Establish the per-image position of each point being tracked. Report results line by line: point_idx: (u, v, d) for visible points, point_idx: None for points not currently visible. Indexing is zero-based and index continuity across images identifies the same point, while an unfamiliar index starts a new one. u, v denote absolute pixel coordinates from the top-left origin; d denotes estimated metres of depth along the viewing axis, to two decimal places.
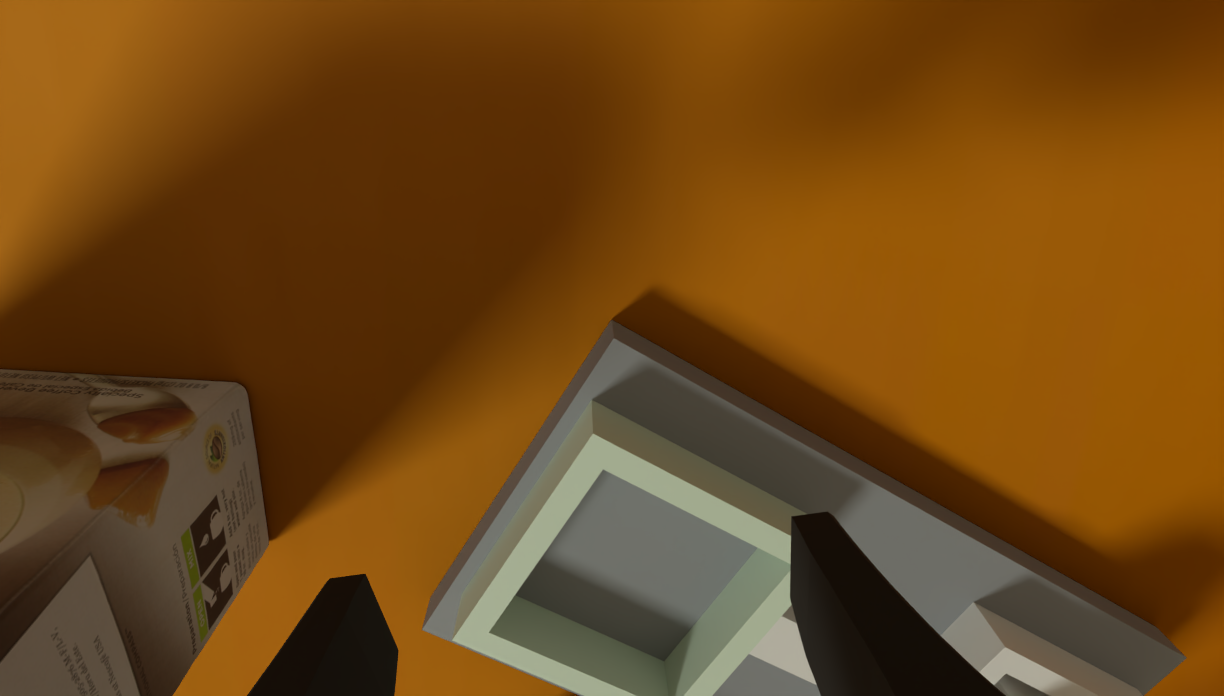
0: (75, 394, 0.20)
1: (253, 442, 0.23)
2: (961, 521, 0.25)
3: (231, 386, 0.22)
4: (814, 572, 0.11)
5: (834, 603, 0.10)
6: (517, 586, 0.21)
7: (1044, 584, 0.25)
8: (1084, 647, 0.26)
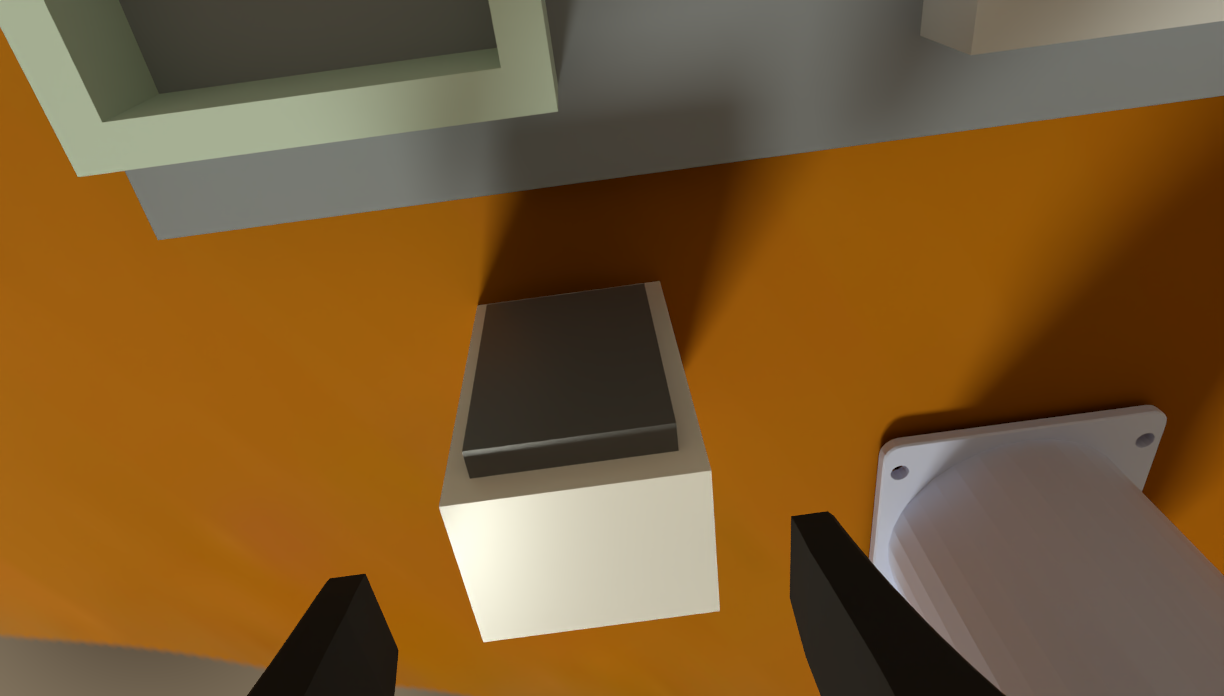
0: None
1: None
2: None
3: None
4: (814, 572, 0.11)
5: (834, 603, 0.10)
6: None
7: None
8: None
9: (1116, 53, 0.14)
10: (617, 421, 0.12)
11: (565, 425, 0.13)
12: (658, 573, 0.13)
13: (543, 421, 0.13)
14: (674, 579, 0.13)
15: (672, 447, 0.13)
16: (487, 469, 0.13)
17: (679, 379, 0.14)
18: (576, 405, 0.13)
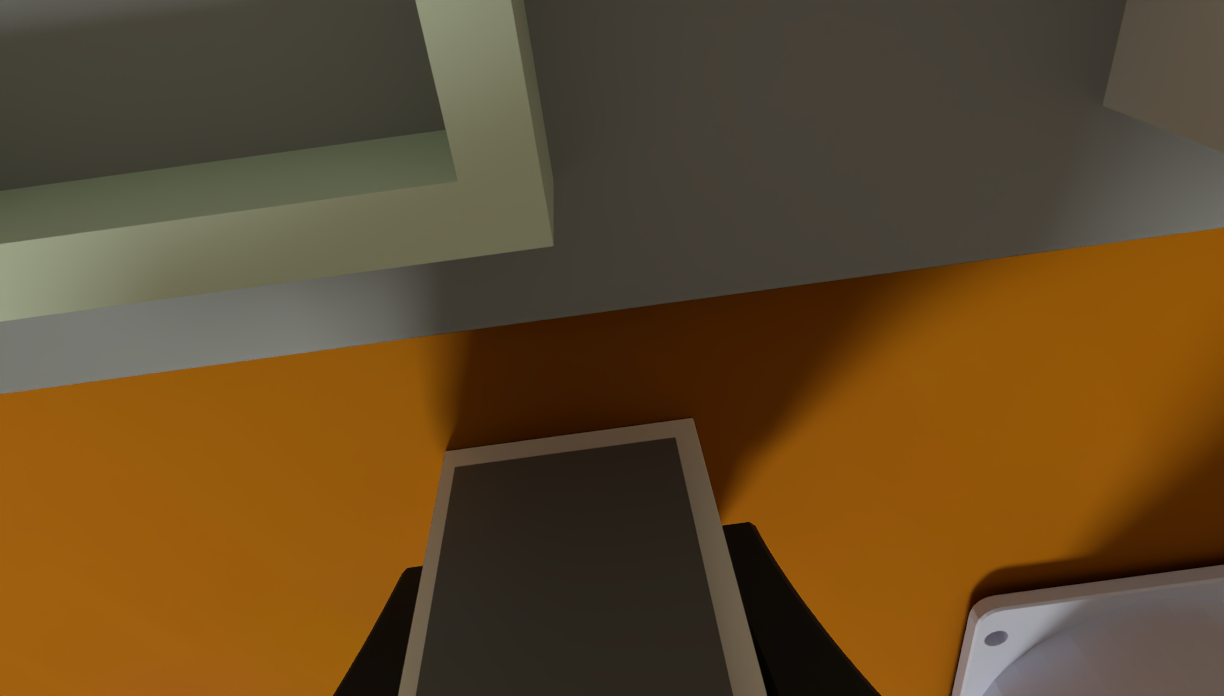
0: None
1: None
2: None
3: None
4: None
5: None
6: None
7: None
8: None
9: None
10: None
11: None
12: None
13: None
14: None
15: None
16: None
17: (736, 618, 0.10)
18: None
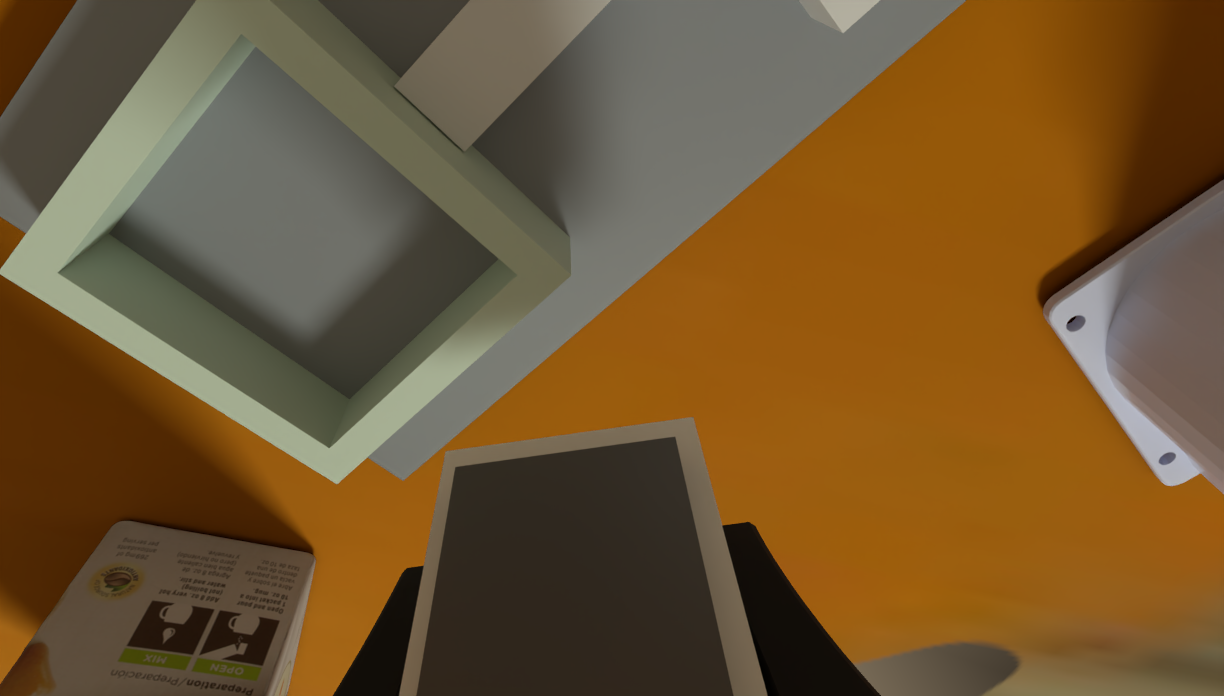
0: None
1: (179, 533, 0.23)
2: None
3: None
4: None
5: None
6: (255, 405, 0.17)
7: None
8: None
9: None
10: None
11: None
12: None
13: None
14: None
15: None
16: None
17: (736, 617, 0.10)
18: None
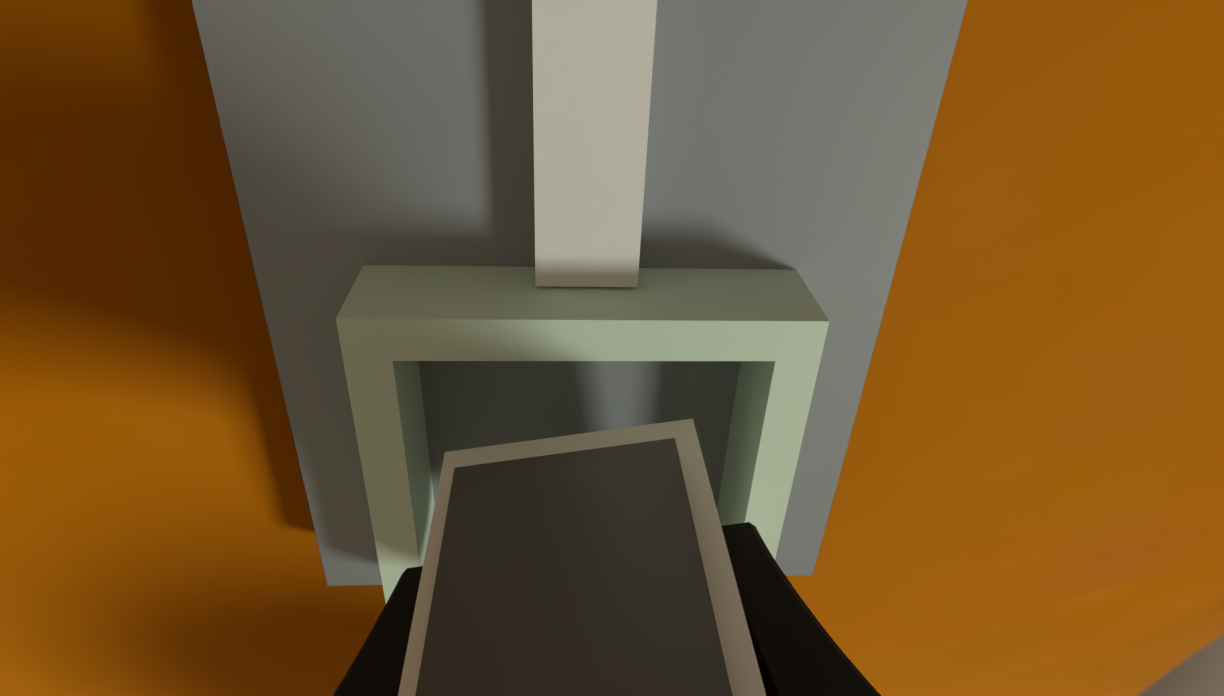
0: None
1: None
2: None
3: None
4: None
5: None
6: None
7: None
8: None
9: None
10: None
11: None
12: None
13: None
14: None
15: None
16: None
17: (735, 619, 0.10)
18: None
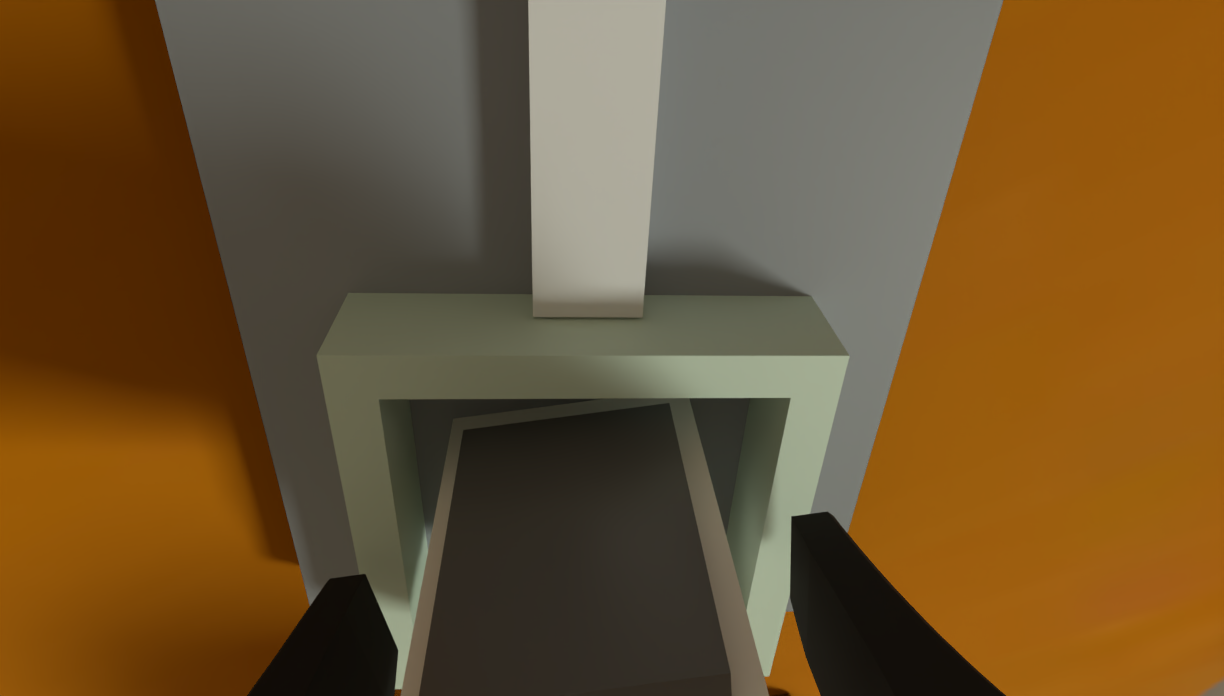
0: None
1: None
2: None
3: None
4: (814, 572, 0.11)
5: (834, 603, 0.10)
6: None
7: None
8: None
9: None
10: (643, 665, 0.09)
11: (568, 667, 0.09)
12: None
13: (536, 657, 0.09)
14: None
15: None
16: None
17: (723, 562, 0.10)
18: (583, 626, 0.09)
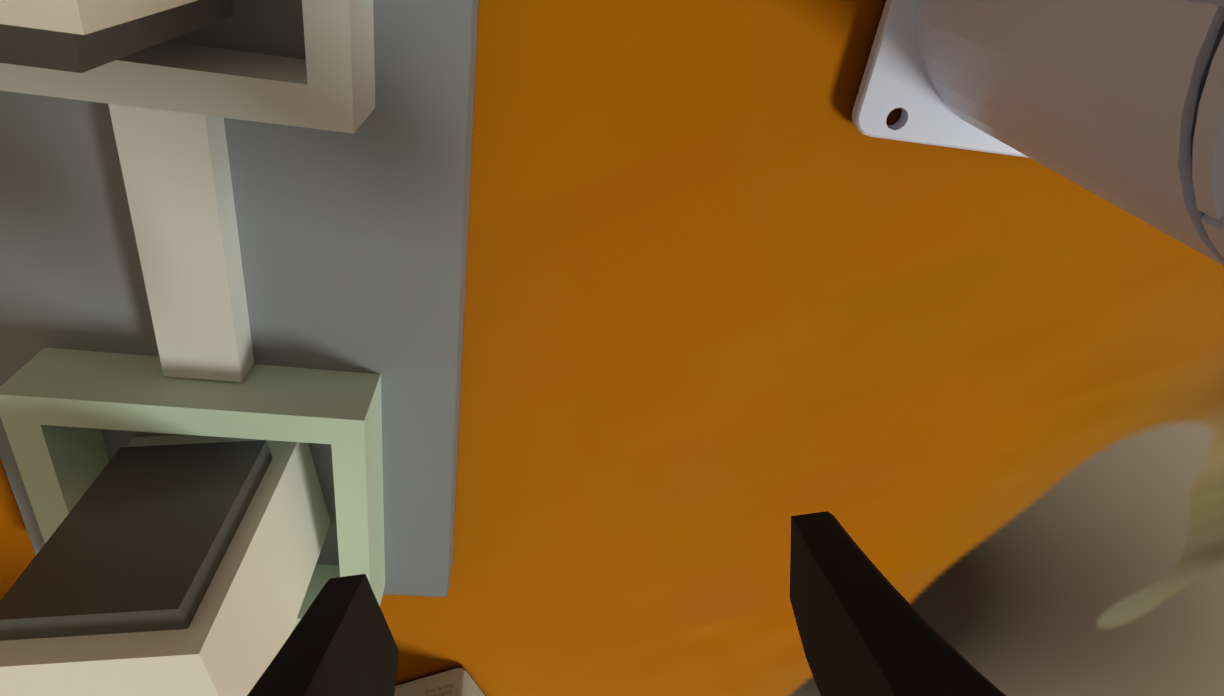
0: None
1: None
2: None
3: None
4: (814, 572, 0.11)
5: (834, 603, 0.10)
6: None
7: None
8: None
9: None
10: (133, 601, 0.14)
11: (89, 600, 0.15)
12: None
13: (74, 593, 0.15)
14: None
15: (181, 627, 0.15)
16: (13, 635, 0.14)
17: (242, 547, 0.16)
18: (113, 578, 0.15)
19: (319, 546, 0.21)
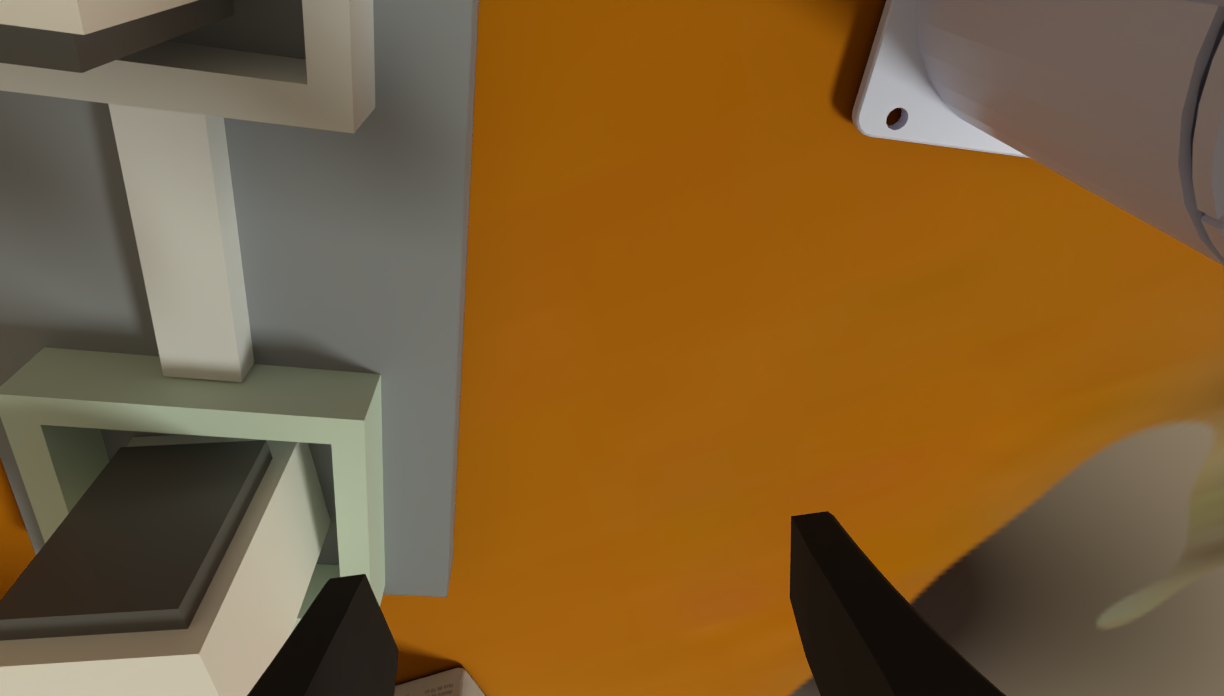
0: None
1: None
2: None
3: None
4: (814, 572, 0.11)
5: (834, 603, 0.10)
6: None
7: None
8: None
9: None
10: (133, 601, 0.14)
11: (89, 600, 0.15)
12: None
13: (74, 593, 0.15)
14: None
15: (181, 627, 0.15)
16: (13, 635, 0.14)
17: (242, 547, 0.16)
18: (113, 578, 0.15)
19: (319, 546, 0.21)
